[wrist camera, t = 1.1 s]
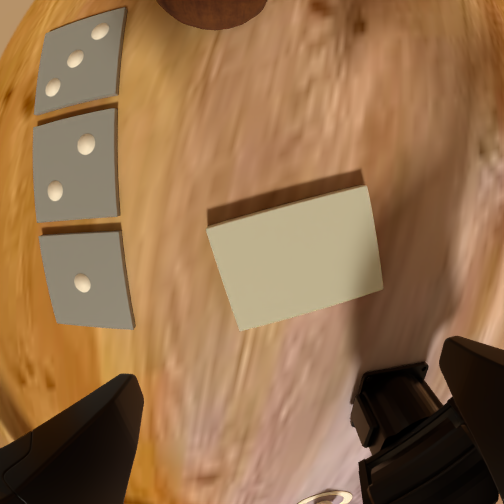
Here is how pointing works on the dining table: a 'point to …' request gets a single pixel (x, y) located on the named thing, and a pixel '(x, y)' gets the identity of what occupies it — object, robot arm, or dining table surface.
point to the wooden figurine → (213, 12)
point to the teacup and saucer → (346, 495)
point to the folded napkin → (298, 257)
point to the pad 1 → (81, 62)
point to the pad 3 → (88, 279)
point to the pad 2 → (76, 167)
